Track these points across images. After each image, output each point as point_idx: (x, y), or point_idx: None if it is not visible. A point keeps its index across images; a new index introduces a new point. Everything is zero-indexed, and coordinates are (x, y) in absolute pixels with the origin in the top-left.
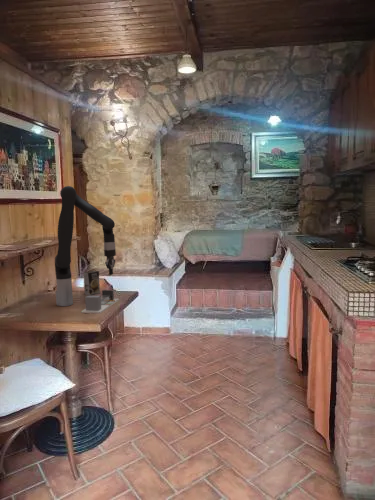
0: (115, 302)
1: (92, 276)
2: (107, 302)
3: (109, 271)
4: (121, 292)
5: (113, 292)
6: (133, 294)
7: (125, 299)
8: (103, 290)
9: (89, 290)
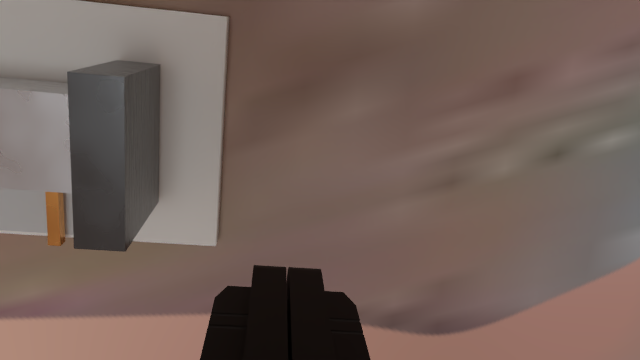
0: None
1: None
2: None
3: (205, 343)
4: (603, 164)
5: (134, 236)
6: (479, 322)
7: None
8: (82, 93)
9: None
